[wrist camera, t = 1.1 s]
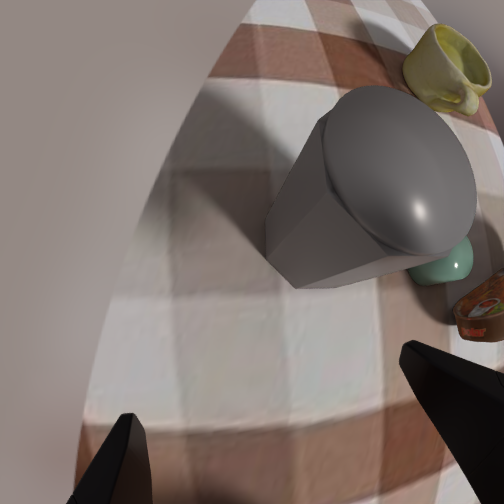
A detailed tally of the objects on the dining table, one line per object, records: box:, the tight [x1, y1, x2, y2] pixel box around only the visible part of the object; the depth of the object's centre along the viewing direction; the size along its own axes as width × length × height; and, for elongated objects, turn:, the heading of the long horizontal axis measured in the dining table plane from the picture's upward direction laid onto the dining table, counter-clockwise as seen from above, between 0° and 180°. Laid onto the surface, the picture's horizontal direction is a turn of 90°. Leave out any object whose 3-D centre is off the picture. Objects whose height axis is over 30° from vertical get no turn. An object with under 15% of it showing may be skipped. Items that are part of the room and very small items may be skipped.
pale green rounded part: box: [408, 236, 473, 286], centre depth 21 cm, size 4×4×4 cm
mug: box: [402, 24, 492, 116], centre depth 25 cm, size 12×10×10 cm
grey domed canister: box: [265, 86, 477, 289], centre depth 16 cm, size 7×7×13 cm
